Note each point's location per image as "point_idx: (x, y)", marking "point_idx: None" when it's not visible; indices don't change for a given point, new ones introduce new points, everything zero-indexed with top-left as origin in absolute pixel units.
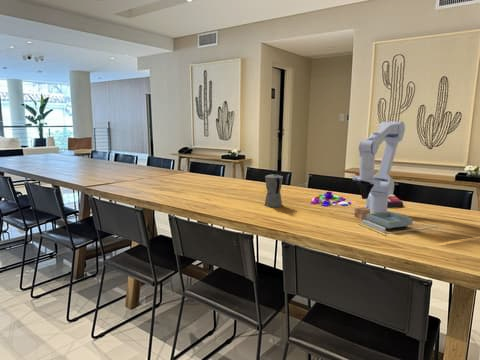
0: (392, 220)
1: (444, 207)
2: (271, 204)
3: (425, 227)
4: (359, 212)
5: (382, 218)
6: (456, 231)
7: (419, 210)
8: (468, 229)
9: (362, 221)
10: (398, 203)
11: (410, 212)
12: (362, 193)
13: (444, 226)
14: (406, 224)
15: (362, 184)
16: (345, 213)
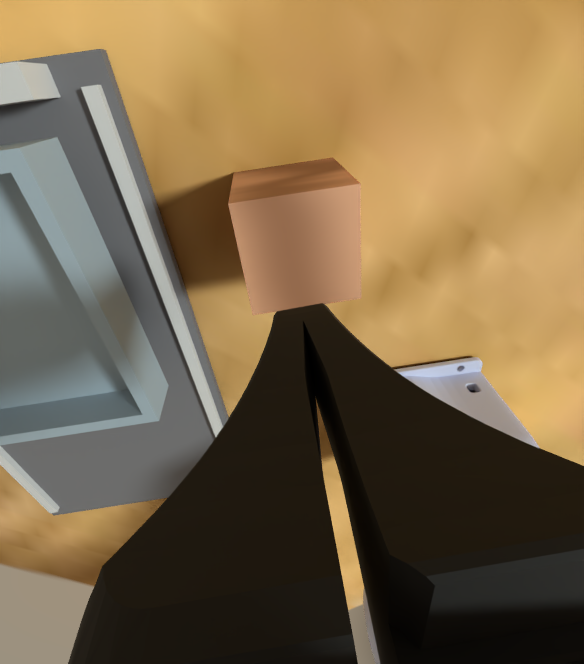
0: (16, 352)
1: (356, 604)
2: None
3: (8, 465)
4: (269, 187)
5: (77, 310)
6: (19, 533)
7: (354, 549)
8: (61, 567)
9: (20, 62)
10: None
11: (339, 518)
12: (318, 353)
13: (99, 530)
14: None
15: (230, 590)
16: (502, 168)
